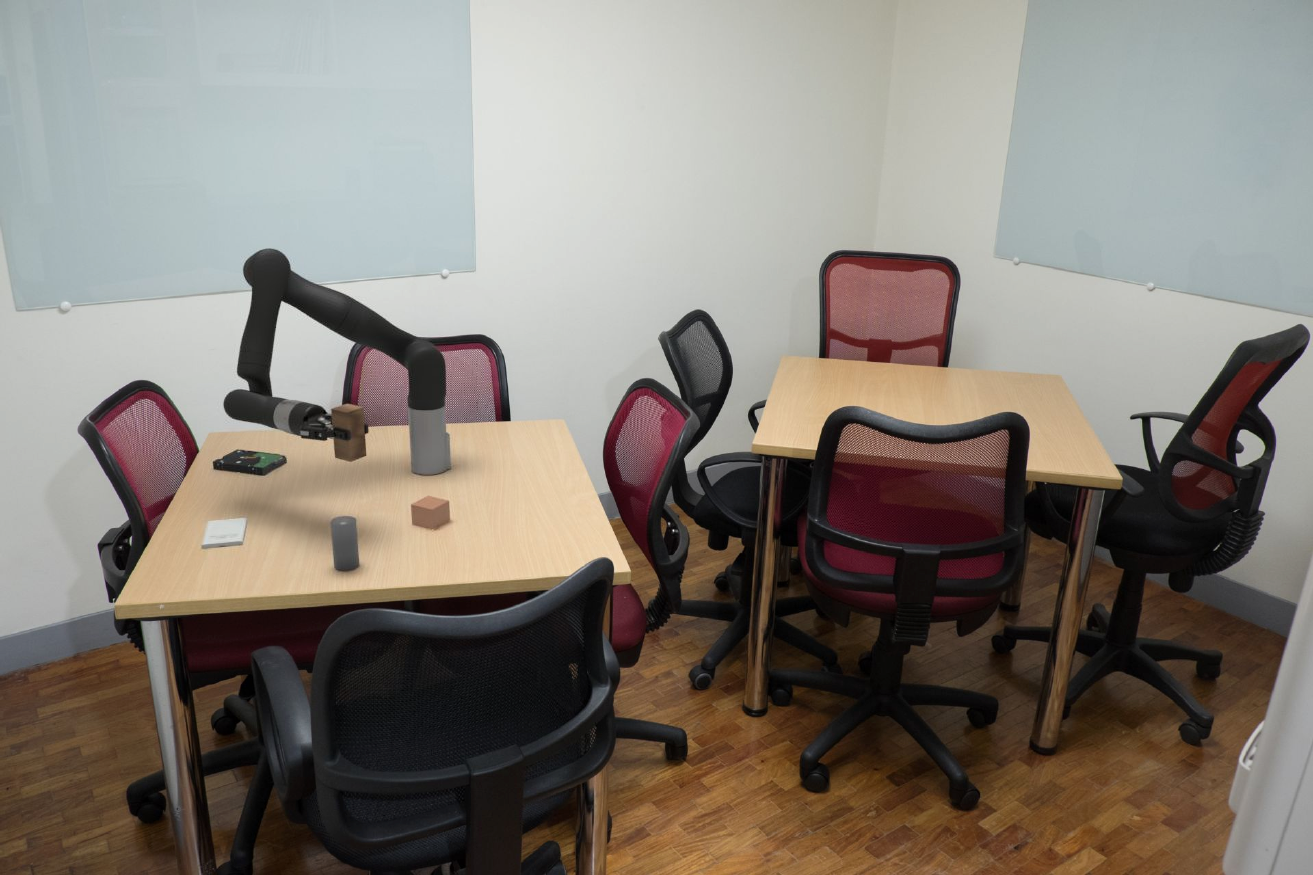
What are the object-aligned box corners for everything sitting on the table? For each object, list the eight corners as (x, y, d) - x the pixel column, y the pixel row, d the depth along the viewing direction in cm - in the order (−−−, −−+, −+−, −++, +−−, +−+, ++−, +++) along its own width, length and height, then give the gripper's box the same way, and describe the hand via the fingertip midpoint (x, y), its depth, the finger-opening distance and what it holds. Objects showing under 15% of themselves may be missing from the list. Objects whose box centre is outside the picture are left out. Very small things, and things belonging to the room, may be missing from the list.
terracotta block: (429, 515, 232) (428, 495, 230) (450, 520, 229) (449, 500, 228) (412, 524, 227) (410, 504, 225) (433, 530, 224) (432, 509, 223)
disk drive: (212, 472, 256) (264, 477, 252) (211, 461, 255) (263, 467, 251) (237, 458, 265) (288, 463, 262) (236, 448, 264) (287, 453, 261)
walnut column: (350, 451, 219) (347, 403, 215) (366, 455, 217) (363, 407, 213) (334, 457, 215) (331, 408, 211) (350, 461, 213) (347, 412, 209)
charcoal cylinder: (353, 558, 210) (350, 514, 206) (363, 566, 206) (360, 522, 203) (330, 564, 207) (326, 519, 203) (339, 573, 203) (336, 527, 200)
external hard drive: (247, 524, 226) (243, 547, 214) (208, 527, 223) (201, 551, 212) (246, 517, 225) (242, 540, 214) (207, 521, 223) (200, 544, 212)
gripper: (273, 410, 213) (332, 424, 206) (323, 394, 225) (381, 407, 217) (276, 443, 216) (334, 458, 208) (326, 426, 227) (383, 440, 220)
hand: (358, 432), depth 213 cm, fingers closed on walnut column, 4 cm apart
